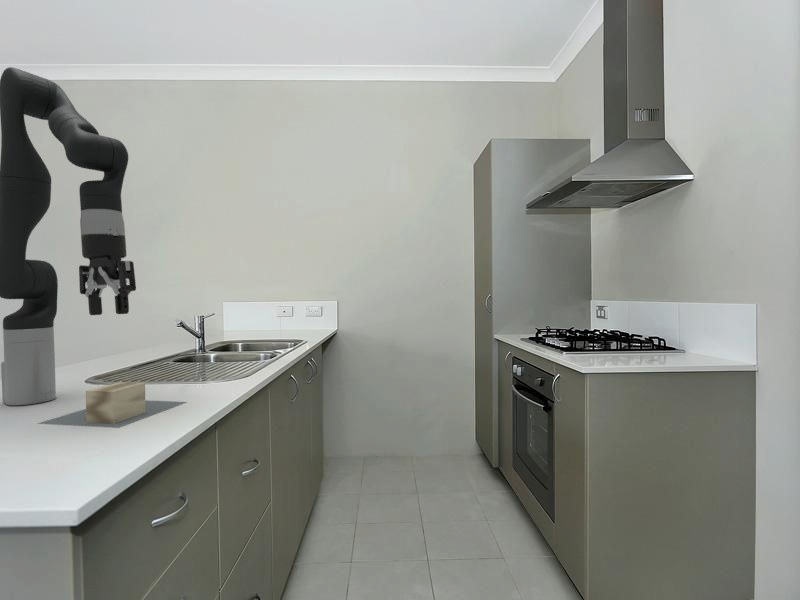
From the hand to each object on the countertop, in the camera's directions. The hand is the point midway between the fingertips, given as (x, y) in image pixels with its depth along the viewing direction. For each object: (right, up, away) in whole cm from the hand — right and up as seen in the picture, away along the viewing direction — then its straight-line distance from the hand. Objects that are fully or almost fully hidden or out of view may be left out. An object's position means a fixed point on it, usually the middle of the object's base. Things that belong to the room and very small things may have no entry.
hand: (109, 314), depth 92 cm
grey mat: (+1, -21, +1) cm, 21 cm away
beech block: (+3, -20, -3) cm, 21 cm away
